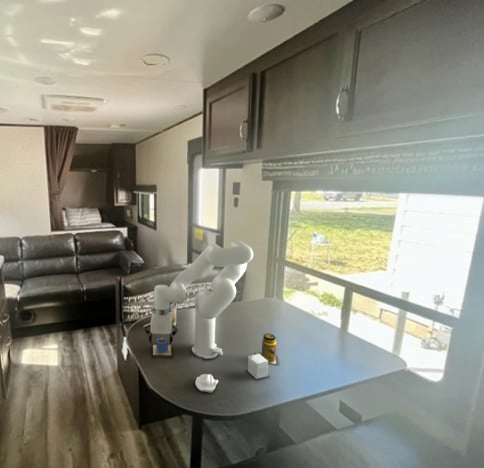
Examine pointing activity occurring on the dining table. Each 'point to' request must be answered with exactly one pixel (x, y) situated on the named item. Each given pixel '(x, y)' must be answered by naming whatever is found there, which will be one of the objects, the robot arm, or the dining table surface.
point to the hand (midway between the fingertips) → (160, 342)
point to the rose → (206, 383)
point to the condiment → (269, 348)
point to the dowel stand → (161, 353)
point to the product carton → (257, 366)
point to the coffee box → (172, 312)
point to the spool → (162, 345)
